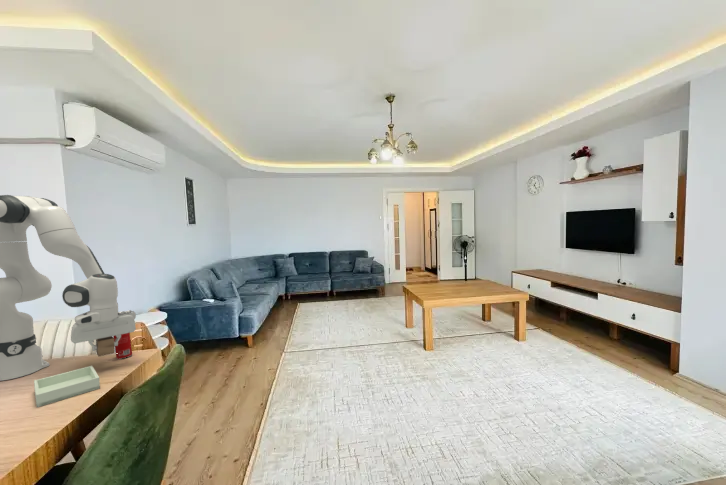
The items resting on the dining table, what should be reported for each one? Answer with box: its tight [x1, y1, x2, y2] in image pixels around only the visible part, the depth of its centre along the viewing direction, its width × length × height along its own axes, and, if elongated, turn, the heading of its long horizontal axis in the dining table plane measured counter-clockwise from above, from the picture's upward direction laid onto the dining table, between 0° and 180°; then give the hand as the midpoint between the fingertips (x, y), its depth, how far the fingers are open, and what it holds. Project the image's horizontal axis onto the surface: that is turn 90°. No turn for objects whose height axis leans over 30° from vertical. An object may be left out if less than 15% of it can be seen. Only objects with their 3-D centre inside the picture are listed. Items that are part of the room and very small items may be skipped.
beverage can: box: [112, 333, 133, 360], centre depth 140 cm, size 6×6×15 cm
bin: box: [33, 365, 101, 408], centre depth 111 cm, size 16×16×4 cm
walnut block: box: [95, 336, 116, 357], centre depth 127 cm, size 5×5×6 cm
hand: (105, 347), depth 127 cm, fingers closed on walnut block, 5 cm apart
